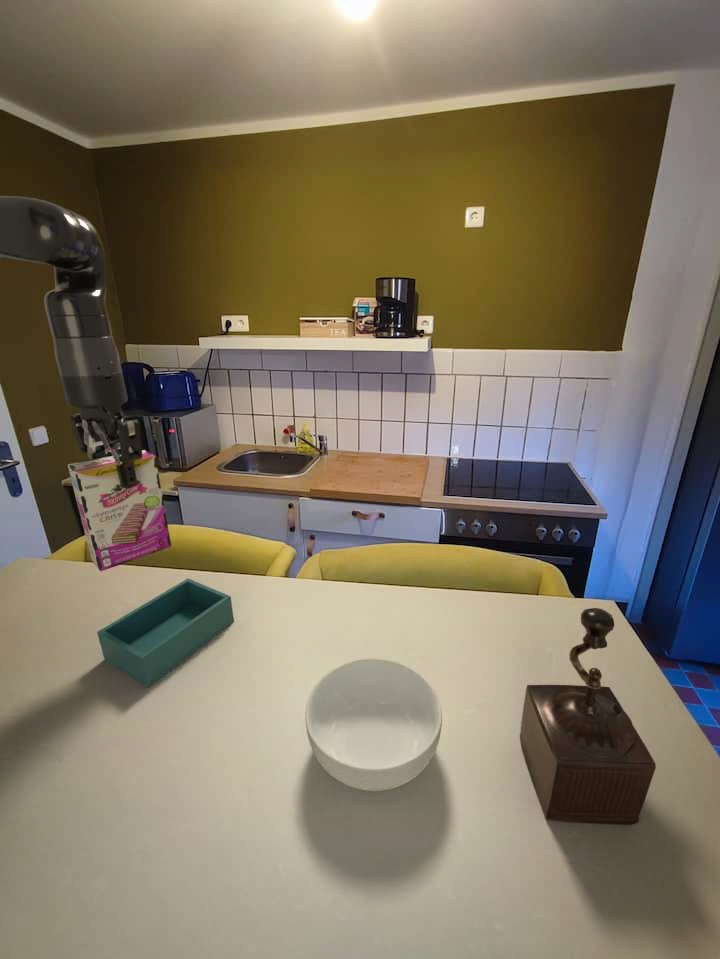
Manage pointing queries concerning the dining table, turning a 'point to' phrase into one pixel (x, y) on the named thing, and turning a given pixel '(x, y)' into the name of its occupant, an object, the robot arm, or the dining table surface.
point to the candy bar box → (120, 510)
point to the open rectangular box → (165, 630)
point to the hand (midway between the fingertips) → (117, 483)
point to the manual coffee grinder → (585, 744)
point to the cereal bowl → (373, 723)
